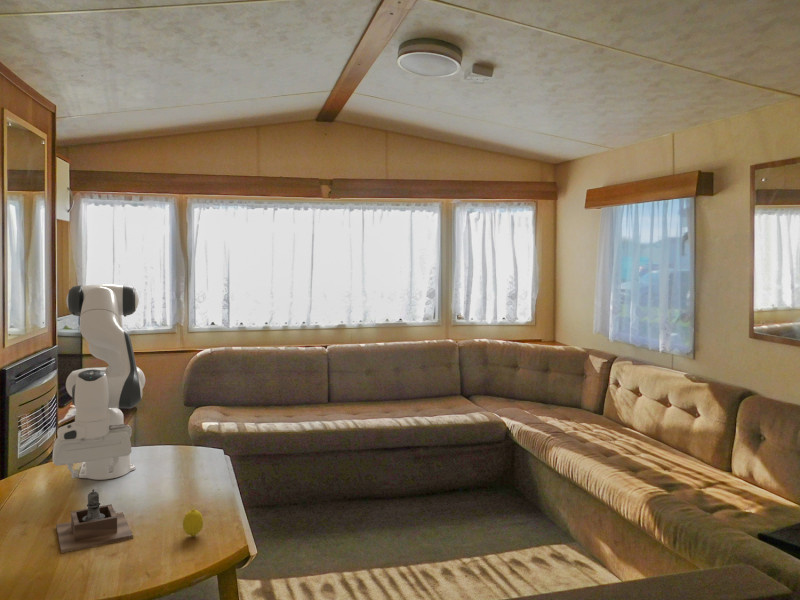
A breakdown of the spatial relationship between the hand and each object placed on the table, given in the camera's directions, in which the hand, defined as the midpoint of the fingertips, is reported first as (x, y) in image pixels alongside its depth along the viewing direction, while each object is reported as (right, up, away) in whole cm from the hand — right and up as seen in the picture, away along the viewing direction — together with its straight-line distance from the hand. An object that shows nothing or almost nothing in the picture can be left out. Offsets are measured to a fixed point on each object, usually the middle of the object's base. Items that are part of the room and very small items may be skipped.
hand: (93, 474), depth 180 cm
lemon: (+29, -18, 0) cm, 34 cm away
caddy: (0, -17, +1) cm, 17 cm away
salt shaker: (0, -16, +1) cm, 16 cm away
